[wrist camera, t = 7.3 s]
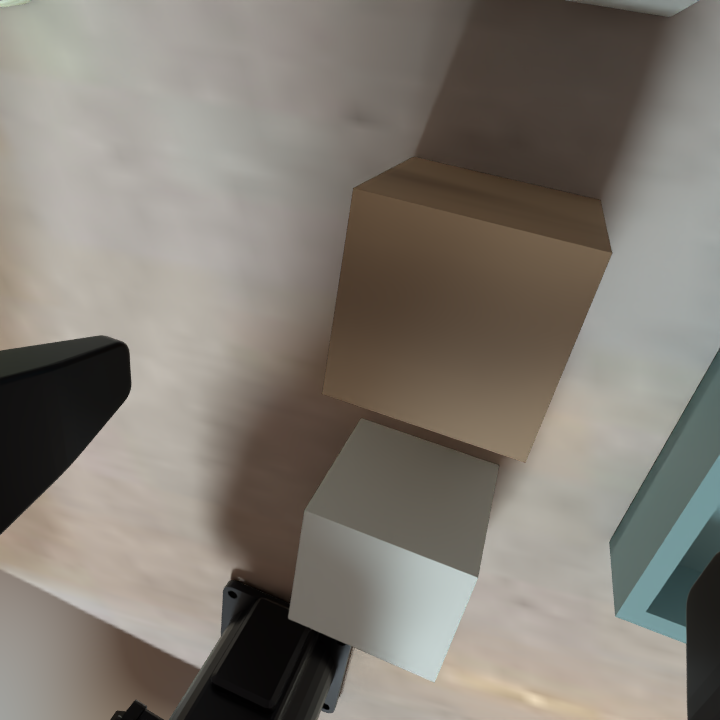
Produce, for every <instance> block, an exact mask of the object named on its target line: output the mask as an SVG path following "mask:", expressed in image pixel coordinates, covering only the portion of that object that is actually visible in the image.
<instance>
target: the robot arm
mask: <svg viewBox="0 0 720 720" xmlns="http://www.w3.org/2000/svg"><path fill="white" fill-rule="evenodd" d="M130 390H131V370H130V353H129V349H128V346H127V345H126V344H125V343H124V342H122V341H119V340H116V339H113V338H111V337H108V336H102V335H101V336H93V337H87V338H80V339H74V340H67V341H61V342H54V343H47V344H41V345H34V346H28V347H21V348H15V349H8V350H2V351H0V535H1V534H2V533H3V532H4V531H5V530H6V529H7V528H8V527H9V526H10V525H11V524H12V523H13V522H14V521H15V520H16V519H17V518H18V517H19V516H20V515H21V514H22V513H23V512H24V511H25V510H26V509H27V508H28V507H29V506H30V505H31V504H32V503H33V502H34V501H35V500H36V499H37V498H39V497H40V496H41V495H42V494H43V493H44V492H45V491H46V490H47V489H48V488H49V487H50V486H51V485H52V484H53V483H54V482H55V481H56V480H57V479H58V478H59V477H60V476H61V475H62V474H63V473H64V472H65V471H66V470H67V469H68V468H69V466H70V465H71V464H72V463H73V462H74V461H75V460H76V459H77V457H78V456H79V455H80V454H81V453H82V452H83V450H84V449H85V448H86V447H87V446H88V444H89V443H90V442H91V441H92V440H93V438H94V437H95V436H96V435H97V434H98V432H99V431H100V430H101V429H102V428H103V426H104V425H105V424H106V423H107V422H108V421H109V419H110V418H111V417H112V416H113V415H114V413H115V412H116V411H117V410H118V409H119V407H120V406H121V405H122V404H123V403H124V401H125V400H126V399H127V397H128V395H129V393H130ZM289 608H290V604H289V603H287V602H284V601H282V600H280V599H277V598H275V597H273V596H270V595H268V594H266V593H263V592H261V591H259V590H257V589H254V588H252V587H250V586H247V585H245V584H243V583H240V582H238V581H235V580H231V581H229V582H228V583H227V585H226V586H225V588H224V590H223V605H222V624H221V637H220V639H219V641H218V642H217V644H216V645H215V647H214V649H213V650H212V652H211V653H210V655H209V657H208V658H207V660H206V661H205V663H204V665H203V666H202V668H201V669H200V671H199V673H198V674H197V676H196V677H195V679H194V681H193V682H192V684H191V686H190V687H189V689H188V690H187V692H186V693H185V695H184V697H183V698H182V700H181V701H180V703H179V705H178V706H177V708H176V710H175V711H174V713H173V714H172V716H171V717H170V719H169V720H317V719H318V717H319V714H320V712H321V711H323V712H326V713H333V712H334V710H335V707H336V705H337V702H338V698H339V694H340V690H341V686H342V682H343V679H344V675H345V671H346V667H347V663H348V659H349V655H350V652H351V648H352V646H350V645H347V644H345V643H343V642H341V641H338V640H336V639H334V638H331V637H329V636H327V635H325V634H322V633H320V632H318V631H315V630H313V629H311V628H309V627H306V626H304V625H302V624H299V623H297V622H295V621H292V620H290V619H288V615H289ZM686 658H687V716H688V720H720V551H719V552H718V553H716V555H715V556H714V557H713V558H712V559H711V561H710V562H709V564H708V565H707V566H706V568H705V569H704V571H703V572H702V573H701V575H700V576H699V578H698V579H697V580H696V582H695V583H694V584H693V586H692V587H691V589H690V591H689V594H688V597H687V602H686ZM111 720H164V719H162V718H160V717H159V716H157V715H155V714H154V713H152V712H150V711H149V710H147V706H146V705H144V704H143V703H141V702H139V701H138V700H135V701H134V702H133V703H132V705H131V706H130V707H129V708H128V710H127V711H126V712H125V711H116V712H115V714H114V715H113V717H112V718H111Z"/></svg>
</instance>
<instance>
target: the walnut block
mask: <svg viewBox="0 0 720 720" xmlns="http://www.w3.org/2000/svg"><path fill="white" fill-rule="evenodd" d="M611 255H612V250H611V246H610V241H609V237H608V232H607V227H606V223H605V218H604V214H603V209H602V205H601V200H598V199H594V198H589V197H585V196H581V195H576V194H572V193H568V192H563V191H559V190H555V189H551V188H546V187H542V186H538V185H533V184H529V183H525V182H521V181H516V180H512V179H508V178H503V177H499V176H495V175H490V174H486V173H482V172H478V171H473V170H469V169H465V168H460V167H456V166H452V165H448V164H443V163H439V162H435V161H430V160H426V159H422V158H417V157H412V158H410V159H408V160H406V161H404V162H402V163H400V164H399V165H397V166H395V167H393V168H391V169H389V170H387V171H385V172H383V173H381V174H379V175H378V176H376V177H374V178H372V179H370V180H368V181H366V182H364V183H362V184H360V185H358V186H357V187H355V188H353V194H352V200H351V207H350V213H349V220H348V226H347V233H346V240H345V246H344V253H343V259H342V266H341V272H340V279H339V285H338V292H337V299H336V305H335V312H334V318H333V325H332V331H331V338H330V345H329V351H328V358H327V364H326V371H325V377H324V384H323V390H322V394H323V395H326V396H329V397H332V398H335V399H338V400H341V401H344V402H347V403H350V404H353V405H356V406H359V407H362V408H365V409H368V410H371V411H374V412H377V413H380V414H382V415H385V416H388V417H391V418H394V419H397V420H400V421H403V422H406V423H409V424H412V425H415V426H418V427H421V428H424V429H427V430H430V431H433V432H436V433H439V434H442V435H444V436H447V437H450V438H453V439H456V440H459V441H462V442H465V443H468V444H471V445H474V446H477V447H480V448H483V449H486V450H489V451H492V452H495V453H498V454H501V455H504V456H507V457H509V458H512V459H515V460H518V461H521V462H524V463H525V462H526V460H527V457H528V455H529V453H530V450H531V448H532V445H533V443H534V441H535V438H536V436H537V433H538V431H539V429H540V426H541V424H542V421H543V419H544V416H545V414H546V412H547V409H548V407H549V404H550V402H551V400H552V397H553V395H554V392H555V390H556V387H557V385H558V383H559V380H560V378H561V375H562V373H563V371H564V368H565V366H566V363H567V361H568V359H569V356H570V354H571V351H572V349H573V346H574V344H575V342H576V339H577V337H578V334H579V332H580V330H581V327H582V325H583V322H584V320H585V318H586V315H587V313H588V310H589V308H590V305H591V303H592V301H593V298H594V296H595V293H596V291H597V289H598V286H599V284H600V281H601V279H602V277H603V274H604V272H605V269H606V267H607V264H608V262H609V260H610V257H611Z"/></svg>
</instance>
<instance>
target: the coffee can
mask: <svg viewBox="0 0 720 720" xmlns="http://www.w3.org/2000/svg"><path fill="white" fill-rule="evenodd" d="M30 1H31V0H0V7H8V6H13V5H21V4H26V3H28V2H30Z"/></svg>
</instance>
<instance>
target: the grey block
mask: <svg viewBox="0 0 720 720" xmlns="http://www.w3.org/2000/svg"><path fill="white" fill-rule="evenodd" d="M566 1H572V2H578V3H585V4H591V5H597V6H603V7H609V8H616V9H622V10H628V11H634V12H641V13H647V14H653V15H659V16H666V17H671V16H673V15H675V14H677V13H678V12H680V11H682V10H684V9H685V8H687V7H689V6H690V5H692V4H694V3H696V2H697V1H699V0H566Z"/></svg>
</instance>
